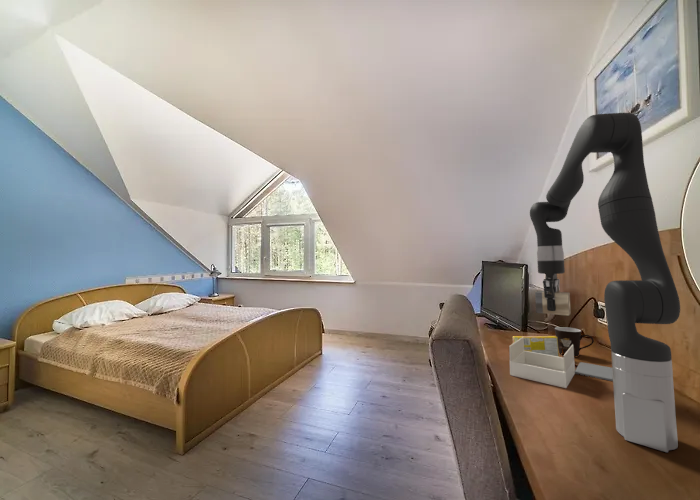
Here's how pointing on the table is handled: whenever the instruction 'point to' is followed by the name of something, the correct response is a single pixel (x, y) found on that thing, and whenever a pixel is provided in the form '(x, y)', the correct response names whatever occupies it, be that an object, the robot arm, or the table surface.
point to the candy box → (540, 344)
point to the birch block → (560, 302)
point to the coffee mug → (569, 339)
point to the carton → (541, 365)
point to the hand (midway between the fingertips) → (553, 309)
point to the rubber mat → (595, 371)
